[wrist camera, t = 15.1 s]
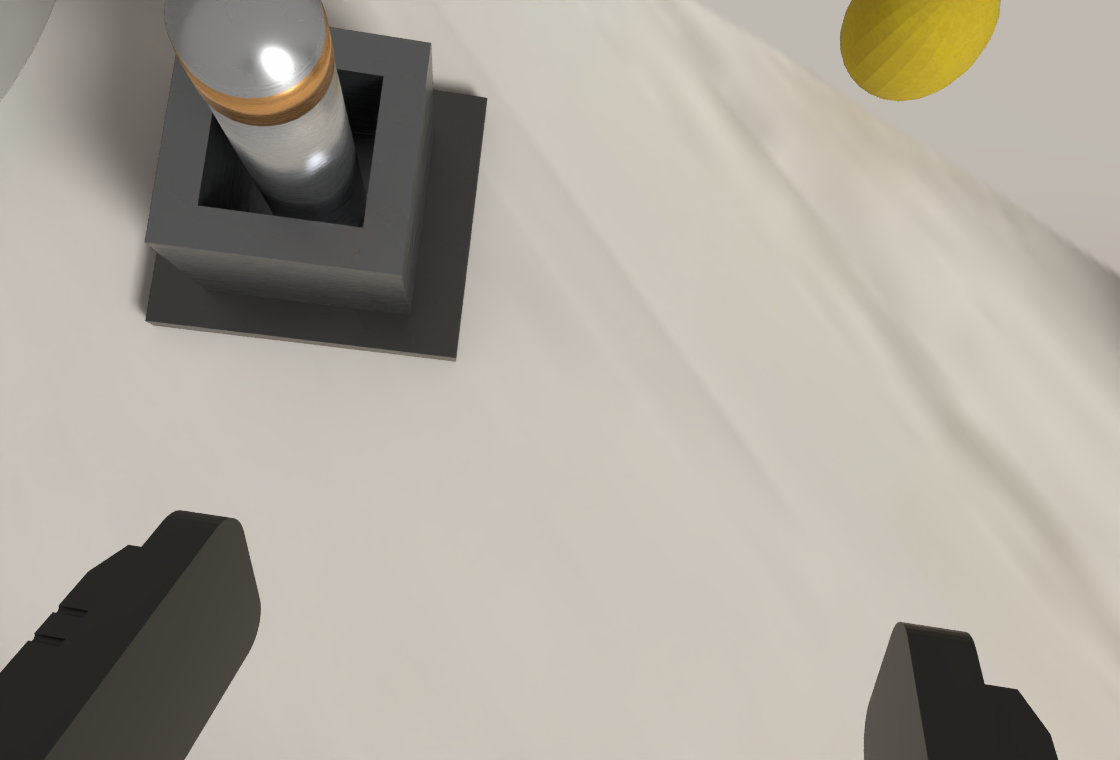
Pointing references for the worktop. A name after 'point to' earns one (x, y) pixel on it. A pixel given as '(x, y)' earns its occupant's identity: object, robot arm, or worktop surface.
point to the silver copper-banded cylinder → (275, 100)
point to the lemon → (914, 43)
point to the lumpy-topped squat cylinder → (19, 35)
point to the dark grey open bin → (316, 247)
